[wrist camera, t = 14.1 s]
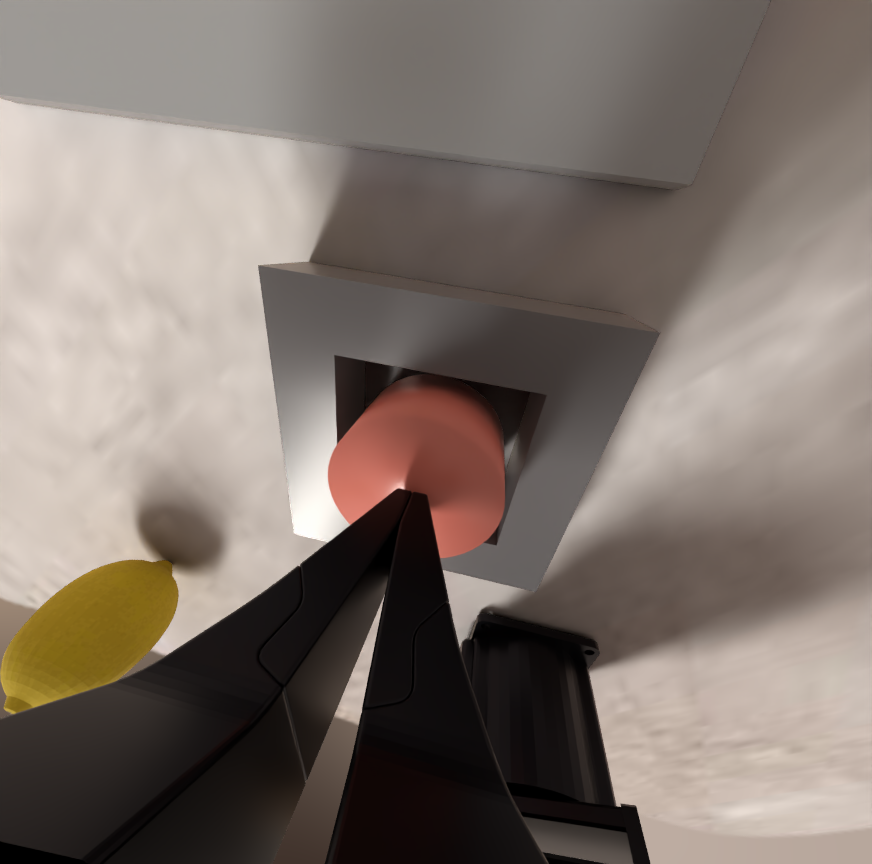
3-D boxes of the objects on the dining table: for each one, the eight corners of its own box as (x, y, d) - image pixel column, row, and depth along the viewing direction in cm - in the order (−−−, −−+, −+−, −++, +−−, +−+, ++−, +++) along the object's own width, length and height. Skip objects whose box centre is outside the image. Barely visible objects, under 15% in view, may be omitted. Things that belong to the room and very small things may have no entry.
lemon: (203, 548, 20) (44, 710, 13) (213, 599, 22) (86, 753, 16) (118, 520, 20) (-86, 665, 13) (138, 574, 23) (-20, 716, 16)
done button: (521, 390, 10) (527, 438, 8) (487, 507, 13) (483, 574, 10) (367, 361, 11) (323, 398, 8) (364, 480, 13) (330, 537, 10)
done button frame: (624, 314, 10) (659, 333, 8) (530, 542, 15) (535, 592, 13) (307, 261, 10) (258, 265, 8) (322, 494, 16) (293, 534, 13)
